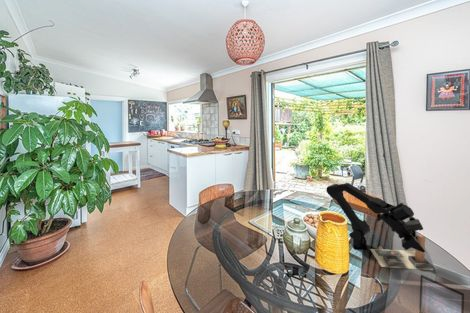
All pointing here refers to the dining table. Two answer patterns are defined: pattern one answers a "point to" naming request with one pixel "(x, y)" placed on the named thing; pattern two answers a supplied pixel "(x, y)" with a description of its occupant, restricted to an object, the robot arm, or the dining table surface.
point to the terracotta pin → (418, 254)
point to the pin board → (399, 259)
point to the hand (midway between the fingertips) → (423, 249)
